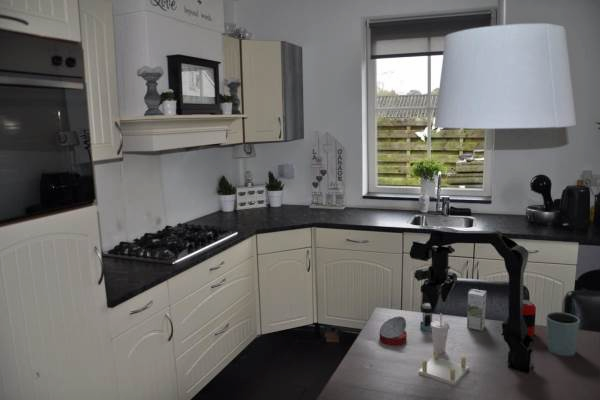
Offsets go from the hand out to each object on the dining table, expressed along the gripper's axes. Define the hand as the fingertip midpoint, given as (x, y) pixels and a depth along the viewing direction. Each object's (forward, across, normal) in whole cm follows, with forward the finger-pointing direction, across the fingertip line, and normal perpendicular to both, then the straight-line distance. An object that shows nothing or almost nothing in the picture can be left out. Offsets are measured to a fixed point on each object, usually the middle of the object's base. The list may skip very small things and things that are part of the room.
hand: (438, 305), depth 178 cm
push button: (+15, -10, -8) cm, 20 cm away
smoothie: (+15, +4, +2) cm, 16 cm away
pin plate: (+15, +17, +9) cm, 24 cm away
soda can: (+15, -27, +22) cm, 38 cm away
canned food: (+15, +6, -15) cm, 22 cm away
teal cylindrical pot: (+15, -20, +36) cm, 44 cm away
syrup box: (+15, -22, +6) cm, 27 cm away
